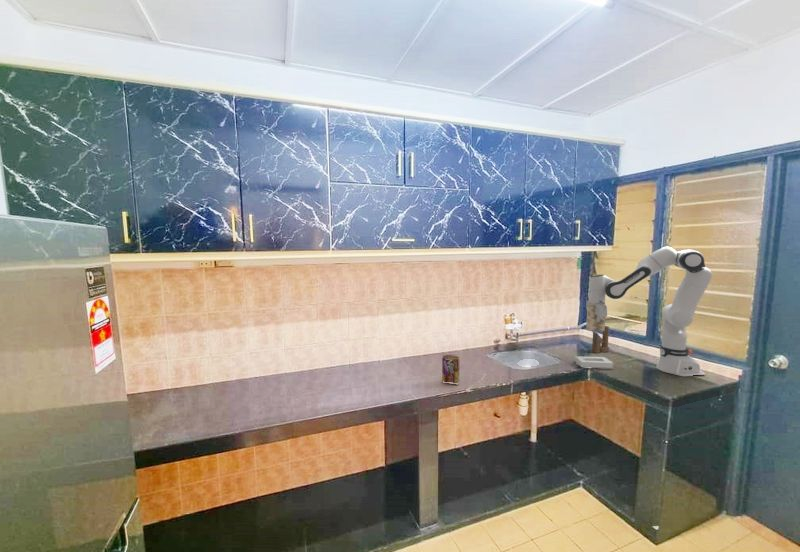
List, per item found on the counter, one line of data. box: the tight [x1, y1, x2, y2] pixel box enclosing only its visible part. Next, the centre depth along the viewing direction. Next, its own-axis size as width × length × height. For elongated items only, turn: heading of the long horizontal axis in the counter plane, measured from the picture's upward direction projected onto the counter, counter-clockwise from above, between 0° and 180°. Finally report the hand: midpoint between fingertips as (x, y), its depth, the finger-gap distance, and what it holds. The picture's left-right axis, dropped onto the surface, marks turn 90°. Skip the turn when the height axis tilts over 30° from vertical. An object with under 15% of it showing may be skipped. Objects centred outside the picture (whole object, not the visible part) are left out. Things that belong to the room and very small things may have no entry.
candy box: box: [441, 354, 461, 383], centre depth 181 cm, size 9×4×15 cm, turn 72°
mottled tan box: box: [585, 305, 606, 332], centre depth 215 cm, size 10×3×16 cm, turn 85°
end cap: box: [574, 355, 614, 370], centre depth 205 cm, size 18×10×4 cm, turn 84°
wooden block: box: [591, 325, 610, 354], centre depth 230 cm, size 4×11×18 cm, turn 104°
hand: (595, 320), depth 215 cm, fingers closed on mottled tan box, 3 cm apart
